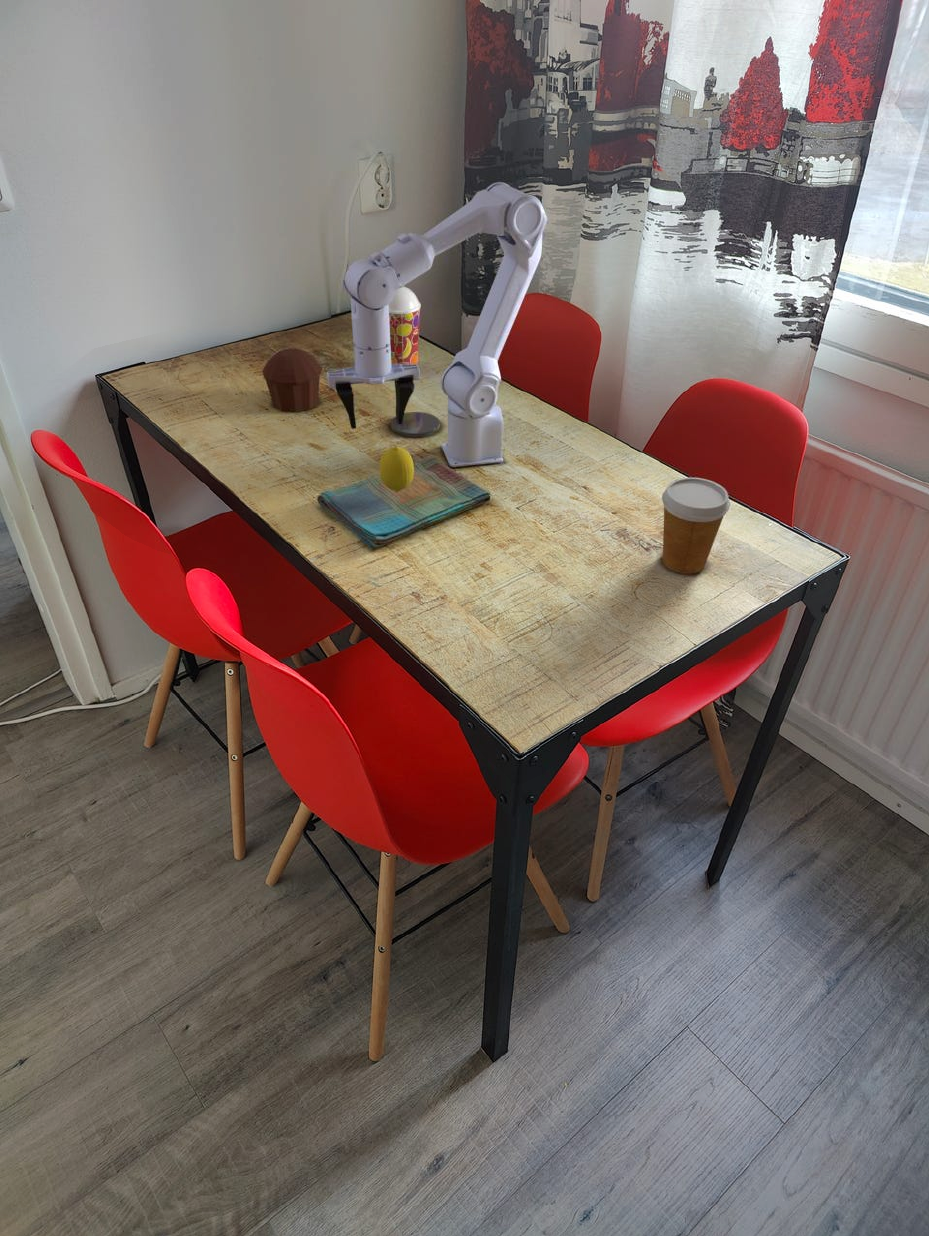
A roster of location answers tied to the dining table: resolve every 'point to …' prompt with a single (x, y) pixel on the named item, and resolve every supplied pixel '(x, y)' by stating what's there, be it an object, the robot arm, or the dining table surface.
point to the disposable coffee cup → (691, 522)
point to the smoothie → (404, 327)
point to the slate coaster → (416, 424)
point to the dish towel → (402, 503)
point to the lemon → (396, 468)
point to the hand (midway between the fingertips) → (376, 423)
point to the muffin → (293, 380)
